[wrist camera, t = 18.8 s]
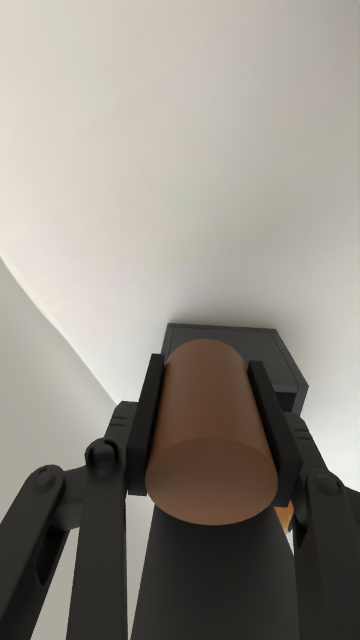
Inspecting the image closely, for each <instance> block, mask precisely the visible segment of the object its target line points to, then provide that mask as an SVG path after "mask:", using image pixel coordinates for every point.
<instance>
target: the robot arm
mask: <svg viewBox="0 0 360 640" xmlns="http://www.w3.org/2000/svg"><path fill="white" fill-rule="evenodd" d="M164 359H165V354H152V355H151V359H150V362H149V366H148V369H147V373H146V377H145V380H144V384H143V387H142V391H141V395H140V398H139V402H128V401H121V402H120V404H119V405H118V406H117V407H116V408H115V410H114V412H113V415H112V418H111V420H110V423H109V426H108V428H107V431H106V433H105V436H104V437H103V438H99V439H97V440H95V441H94V442H92V443H91V444H90V445H89V446H88V447H87V449H86V452H85V460H86V465H85V466H82V467H79V468H76V469H72V470H68V471H63V470H62V469H61V468H60V467H59V466H57V465H45V466H43V467H40V468H38V469H37V470H35V471H34V472H33V473H31V475H30V476H29V477H28V478H27V480H26V481H25V483H24V484H23V486H22V488H21V489H20V491H19V493H18V495H17V496H16V498H15V500H14V501H13V503H12V505H11V507H10V508H9V510H8V512H7V513H6V515H5V517H4V518H3V520H2V522H1V524H0V640H30V639H31V636H32V633H33V631H34V628H35V625H36V622H37V620H38V617H39V614H40V611H41V609H42V606H43V603H44V601H45V598H46V595H47V592H48V589H49V587H50V584H51V581H52V578H53V576H54V573H55V570H56V568H57V565H58V562H59V559H60V557H61V554H62V551H63V549H64V545H65V543H66V540H67V537H68V535H69V532H70V530H71V529H74V528H77V527H80V530H79V537H78V545H77V553H76V562H75V570H74V578H73V586H72V594H71V602H70V610H69V619H68V627H67V635H66V640H128V631H127V630H128V624H127V565H126V564H127V562H126V505H125V499H126V494H127V490H128V495H137V496H147V490H146V487H145V480H144V479H145V470H146V466H147V460H148V455H149V450H150V444H151V439H152V433H153V428H154V422H155V417H156V411H157V406H158V400H159V395H160V390H161V384H162V379H163V373H164ZM247 374H248V377H249V381H250V384H251V387H252V391H253V394H254V397H255V401H256V404H257V407H258V411H259V414H260V417H261V421H262V424H263V427H264V430H265V434H266V437H267V440H268V444H269V447H270V450H271V454H272V457H273V460H274V464H275V467H276V470H277V474H278V490H277V493H276V495H275V497H274V499H273V501H272V502H271V503H270V504H269V505H268V506H271V507H283V508H287V507H288V505H289V502H290V499H291V502H292V505H293V509H294V512H293V514H292V517H291V520H290V522H289V525H288V532H291V530H292V531H293V546H294V561H295V576H296V591H297V606H298V621H299V636H300V640H360V492H358V491H355V490H352V489H350V488H348V487H346V486H344V484H343V483H342V481H341V480H340V479H339V478H338V477H337V476H336V475H334V474H333V473H332V472H330V471H329V470H328V468H327V466H326V464H325V462H324V460H323V458H322V456H321V454H320V452H319V450H318V448H317V446H316V444H315V442H314V440H313V438H312V436H311V434H310V433H309V430H308V428H307V426H306V424H305V421H304V420H303V419H302V418H301V417H300V416H299V415H298V414H297V413H288V412H283V411H282V408H281V406H280V403H279V401H278V398H277V396H276V394H275V391H274V389H273V386H272V384H271V381H270V379H269V377H268V374H267V372H266V369H265V367H264V365H263V362H262V361H256V360H249V363H248V369H247Z"/></svg>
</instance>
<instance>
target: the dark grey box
mask: <svg viewBox="0 0 360 640" xmlns="http://www.w3.org/2000/svg"><path fill="white" fill-rule="evenodd" d="M199 339H211V340H216V341H220V342H223V343H225V344H227V345H229V346H230V347H232V348H233V349H234V350H235V351H237V352H238V354H239V355H240V356H241V358H242V359H243V362H244V364H245V367H246V371H247V369H248V363H249V360H256V361H262V362H263V365H264V367H265V369H266V372H267V374H268V377H269V379H270V381H271V384H272V386H273V389H274V391H275V394H276V396H277V398H278V401H279V403H280V406H281V408H282V411H283V412H288V413H297V414H298V415H299V416H300V414H301V411H302V407H303V404H304V401H305V397H306V394H307V391H308V387H309V385H308V384H307V382H306V380H305V378H304V377H303V375H302V373H301V372H300V370H299V368H298V367H297V365H296V363H295V361H294V360H293V358H292V356H291V355H290V353H289V351H288V350H287V348H286V346H285V344H284V343H283V341H282V339H281V338H280V336H279V334H278V333H277V331H276V329H260V328H242V327H224V326H206V325H188V324H169V323H168V324H167V328H166V333H165V337H164V341H163V346H162V350H161V354H165V359H164V368H165V364H166V361H167V359H168V358H169V356H170V355H171V354H172V352H173V351H174V350H176V349H177V348H178V347H180V346H181V345H183V344H185V343H187V342H190V341H193V340H199Z"/></svg>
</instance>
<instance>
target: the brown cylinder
mask: <svg viewBox="0 0 360 640" xmlns="http://www.w3.org/2000/svg"><path fill="white" fill-rule="evenodd" d="M144 480H145V487H146V490H147V493H148V495H149V496H150V498H151V499H152V501H153V502H154V503H155V504H156V505H157V506H158V507H159V508H160V509H162V510H163V511H164V512H166V513H168V514H169V515H171V516H173V517H175V518H178V519H180V520H183V521H187V522H190V523H195V524H202V525H225V524H232V523H237V522H240V521H244V520H246V519H249V518H251V517H253V516H255V515H257V514H258V513H260V512H261V511H263V510H264V509H265V508H266V507H268V505H269V504H270V503H271V502H272V501H273V499H274V497H275V495H276V493H277V490H278V474H277V470H276V467H275V464H274V460H273V457H272V454H271V450H270V447H269V444H268V440H267V437H266V434H265V430H264V427H263V424H262V421H261V417H260V414H259V411H258V407H257V404H256V401H255V397H254V394H253V391H252V387H251V384H250V381H249V377H248V374H247V371H246V367H245V364H244V362H243V359H242V358H241V356H240V355H239V354H238V352H237V351H235V350H234V349H233V348H232V347H230V346H229V345H227V344H225V343H223V342H220V341H216V340H211V339H199V340H193V341H190V342H187V343H185V344H183V345H181V346H180V347H178V348H177V349H176V350H174V351H173V352H172V354H171V355H170V356H169V358H168V359H167V361H166V364H165V368H164V373H163V379H162V384H161V390H160V395H159V400H158V406H157V411H156V417H155V422H154V428H153V433H152V439H151V444H150V450H149V455H148V460H147V466H146V470H145V479H144Z"/></svg>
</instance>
